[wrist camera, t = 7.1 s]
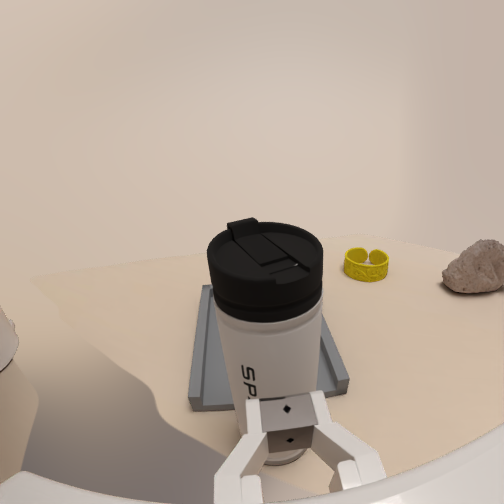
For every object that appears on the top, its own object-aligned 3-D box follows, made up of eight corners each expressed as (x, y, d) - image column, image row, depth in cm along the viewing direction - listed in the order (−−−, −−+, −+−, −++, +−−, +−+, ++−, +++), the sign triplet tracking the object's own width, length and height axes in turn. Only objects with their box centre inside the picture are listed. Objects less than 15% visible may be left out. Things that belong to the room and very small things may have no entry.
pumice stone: (494, 275, 44) (505, 226, 40) (513, 295, 37) (527, 243, 33) (433, 277, 46) (442, 224, 42) (448, 301, 40) (461, 243, 36)
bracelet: (387, 285, 47) (389, 267, 45) (341, 280, 50) (342, 263, 48) (386, 265, 53) (388, 249, 51) (346, 261, 56) (346, 245, 54)
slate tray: (193, 411, 28) (187, 397, 27) (205, 298, 48) (202, 285, 47) (346, 393, 28) (349, 378, 27) (304, 288, 48) (304, 274, 47)
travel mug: (287, 402, 28) (282, 209, 20) (322, 446, 22) (349, 241, 14) (231, 425, 26) (189, 230, 18) (260, 476, 20) (229, 276, 12)
